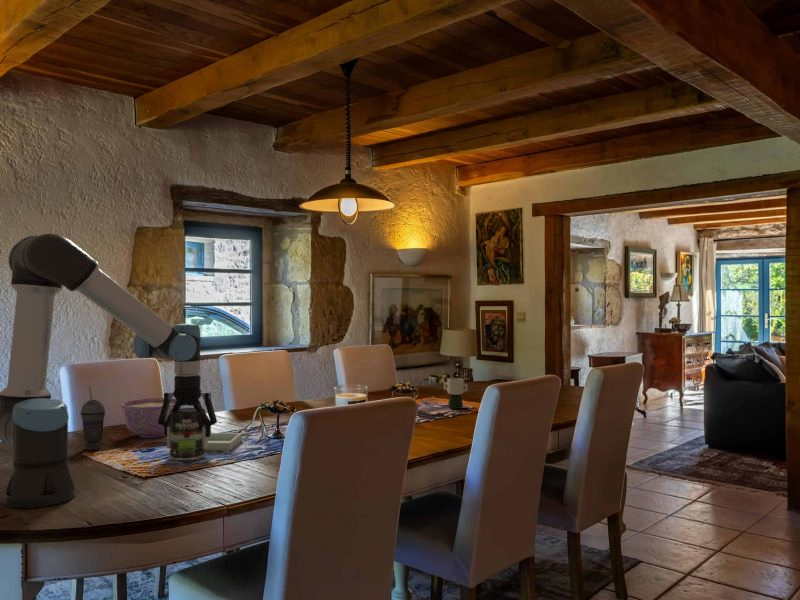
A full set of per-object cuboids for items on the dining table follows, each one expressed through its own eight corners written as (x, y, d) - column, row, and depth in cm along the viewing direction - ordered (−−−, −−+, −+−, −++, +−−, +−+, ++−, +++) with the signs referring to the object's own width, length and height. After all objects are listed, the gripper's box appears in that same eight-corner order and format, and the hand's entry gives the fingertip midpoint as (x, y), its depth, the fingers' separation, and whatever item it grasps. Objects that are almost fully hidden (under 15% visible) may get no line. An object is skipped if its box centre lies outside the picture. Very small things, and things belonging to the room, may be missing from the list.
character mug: (470, 408, 284) (470, 378, 284) (464, 411, 278) (464, 380, 278) (446, 406, 289) (446, 377, 289) (440, 409, 283) (440, 379, 283)
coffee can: (205, 459, 196) (204, 412, 196) (168, 462, 193) (168, 414, 193) (205, 451, 206) (205, 406, 206) (170, 453, 203) (170, 408, 203)
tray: (230, 451, 205) (230, 443, 205) (184, 451, 206) (184, 442, 206) (242, 441, 220) (242, 433, 220) (199, 441, 220) (199, 433, 220)
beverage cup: (95, 451, 206) (95, 388, 206) (75, 450, 207) (75, 387, 207) (110, 446, 213) (110, 384, 213) (90, 445, 214) (90, 384, 214)
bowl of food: (108, 439, 222) (108, 405, 222) (144, 428, 242) (144, 397, 242) (160, 443, 218) (160, 408, 218) (193, 431, 237) (193, 399, 237)
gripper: (227, 373, 203) (228, 444, 203) (155, 373, 203) (155, 444, 203) (220, 376, 195) (220, 450, 195) (145, 376, 196) (145, 450, 196)
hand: (187, 447), depth 199 cm, fingers closed on coffee can, 10 cm apart
